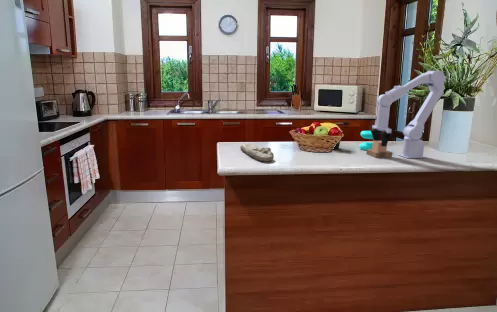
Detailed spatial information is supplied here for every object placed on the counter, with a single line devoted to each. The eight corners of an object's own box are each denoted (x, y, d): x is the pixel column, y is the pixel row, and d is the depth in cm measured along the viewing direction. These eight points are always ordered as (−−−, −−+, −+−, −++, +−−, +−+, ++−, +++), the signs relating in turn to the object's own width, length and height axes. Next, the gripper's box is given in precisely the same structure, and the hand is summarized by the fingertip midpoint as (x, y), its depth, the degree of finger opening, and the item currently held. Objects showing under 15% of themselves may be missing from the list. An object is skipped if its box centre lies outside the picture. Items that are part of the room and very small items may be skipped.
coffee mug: (328, 150, 194) (330, 132, 192) (322, 147, 203) (323, 129, 200) (348, 149, 197) (350, 131, 194) (341, 146, 205) (342, 129, 203)
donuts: (360, 129, 203) (378, 131, 200) (358, 147, 205) (377, 148, 202) (360, 132, 193) (380, 133, 191) (359, 150, 196) (378, 151, 193)
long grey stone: (253, 150, 198) (236, 152, 195) (252, 140, 197) (235, 142, 194) (279, 161, 165) (259, 163, 162) (279, 150, 164) (259, 152, 161)
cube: (380, 149, 185) (381, 140, 184) (386, 151, 180) (387, 142, 179) (372, 150, 184) (373, 140, 183) (377, 152, 179) (378, 142, 178)
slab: (381, 154, 188) (382, 148, 188) (391, 158, 180) (392, 152, 179) (366, 154, 187) (366, 149, 186) (375, 158, 178) (375, 152, 178)
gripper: (368, 116, 185) (365, 142, 188) (383, 120, 171) (380, 147, 174) (380, 116, 186) (377, 142, 189) (396, 120, 173) (393, 147, 176)
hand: (379, 144), depth 182 cm, fingers open, 7 cm apart
